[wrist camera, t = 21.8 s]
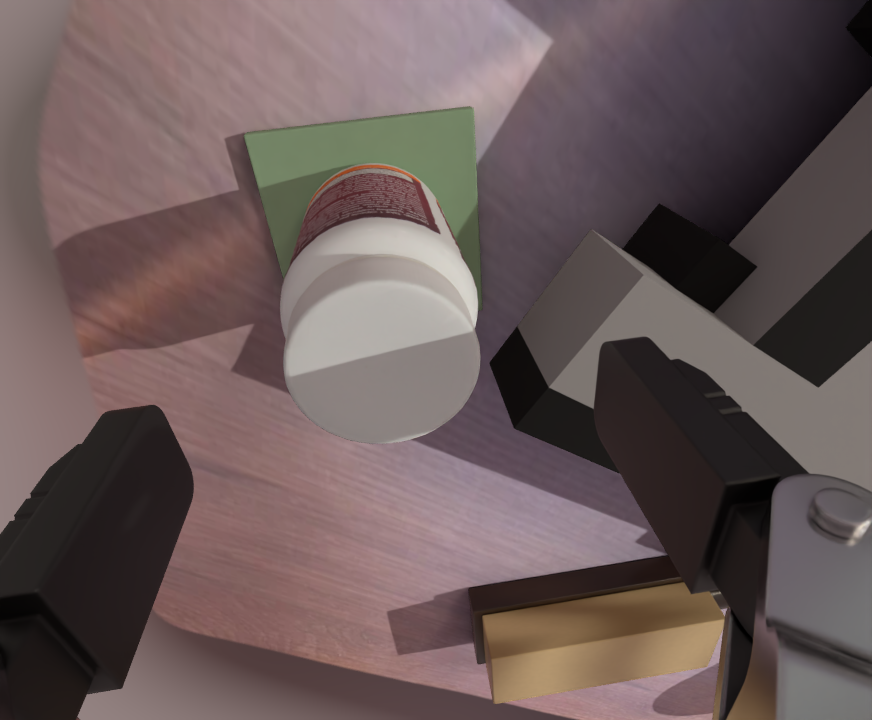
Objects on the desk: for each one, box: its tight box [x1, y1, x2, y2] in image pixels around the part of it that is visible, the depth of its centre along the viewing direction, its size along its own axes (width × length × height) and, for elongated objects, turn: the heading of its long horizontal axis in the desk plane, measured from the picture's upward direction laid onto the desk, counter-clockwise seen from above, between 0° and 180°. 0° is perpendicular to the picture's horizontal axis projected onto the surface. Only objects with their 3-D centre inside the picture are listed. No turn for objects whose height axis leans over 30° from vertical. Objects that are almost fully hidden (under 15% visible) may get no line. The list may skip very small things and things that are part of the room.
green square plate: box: [244, 106, 483, 311], centre depth 17 cm, size 7×7×1 cm
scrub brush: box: [469, 556, 729, 704], centre depth 30 cm, size 22×6×4 cm, turn 95°
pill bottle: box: [280, 163, 481, 444], centre depth 14 cm, size 5×5×8 cm
